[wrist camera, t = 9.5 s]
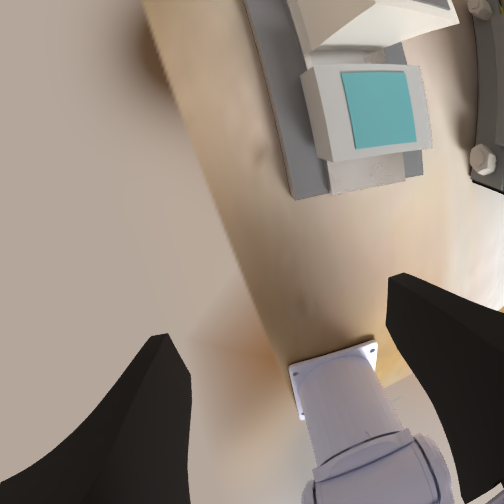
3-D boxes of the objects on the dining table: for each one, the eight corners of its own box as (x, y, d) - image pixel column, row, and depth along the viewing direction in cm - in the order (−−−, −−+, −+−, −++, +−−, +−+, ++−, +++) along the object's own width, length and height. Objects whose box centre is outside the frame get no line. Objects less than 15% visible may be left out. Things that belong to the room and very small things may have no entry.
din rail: (400, 178, 15) (405, 180, 15) (328, 193, 15) (332, 195, 15) (318, -87, 7) (320, -91, 6) (246, -88, 7) (247, -93, 6)
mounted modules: (408, 143, 14) (434, 148, 12) (317, 157, 14) (334, 162, 12) (338, -73, 7) (351, -90, 5) (247, -76, 7) (250, -98, 5)
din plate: (414, 171, 16) (423, 174, 15) (291, 196, 16) (295, 200, 15) (339, -77, 7) (343, -83, 7) (216, -77, 8) (215, -85, 7)
